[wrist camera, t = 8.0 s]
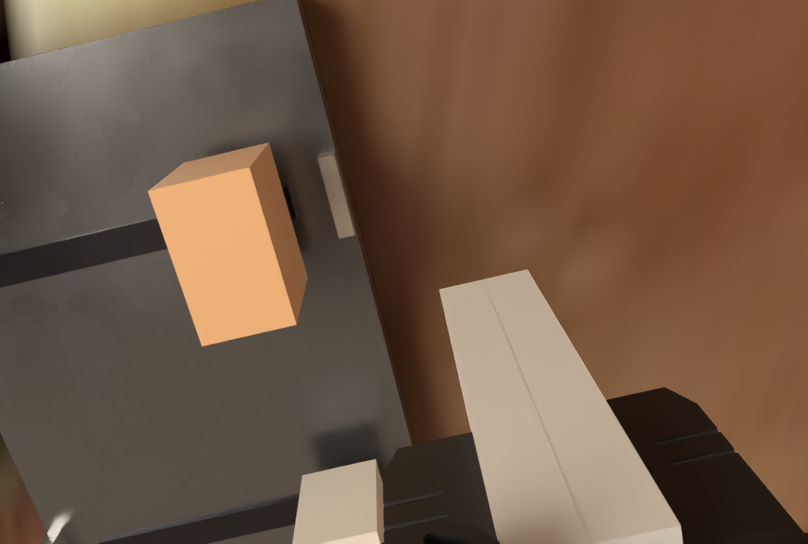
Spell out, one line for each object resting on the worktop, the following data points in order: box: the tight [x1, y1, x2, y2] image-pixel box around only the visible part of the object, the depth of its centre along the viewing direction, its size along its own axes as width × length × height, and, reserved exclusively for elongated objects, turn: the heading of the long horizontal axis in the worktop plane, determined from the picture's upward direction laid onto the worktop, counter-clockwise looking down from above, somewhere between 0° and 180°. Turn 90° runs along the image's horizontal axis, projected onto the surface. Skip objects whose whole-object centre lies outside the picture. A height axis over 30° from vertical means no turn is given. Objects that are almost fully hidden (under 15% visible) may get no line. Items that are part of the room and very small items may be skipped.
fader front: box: [148, 143, 308, 346], centre depth 25 cm, size 3×5×5 cm, turn 13°
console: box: [0, 0, 416, 544], centre depth 30 cm, size 16×26×3 cm, turn 13°
